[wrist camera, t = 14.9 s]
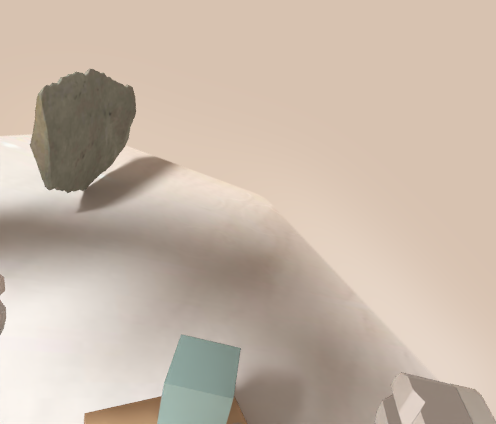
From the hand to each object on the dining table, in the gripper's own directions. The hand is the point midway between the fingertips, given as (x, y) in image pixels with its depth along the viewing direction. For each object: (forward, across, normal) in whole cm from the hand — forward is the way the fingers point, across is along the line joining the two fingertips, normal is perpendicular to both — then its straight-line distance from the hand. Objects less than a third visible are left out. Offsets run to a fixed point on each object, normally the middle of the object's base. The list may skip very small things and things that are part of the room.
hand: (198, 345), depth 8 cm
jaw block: (+12, -1, +23) cm, 26 cm away
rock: (+55, +26, +26) cm, 66 cm away
